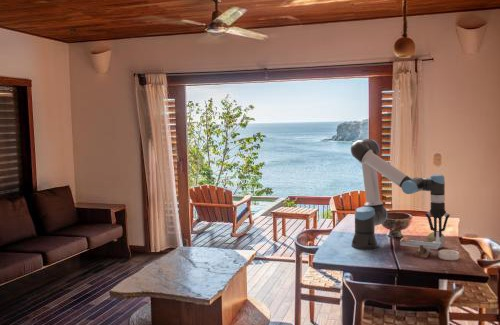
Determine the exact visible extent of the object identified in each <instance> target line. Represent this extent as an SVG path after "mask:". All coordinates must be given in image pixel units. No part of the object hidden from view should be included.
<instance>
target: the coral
mask: <svg viewBox="0 0 500 325" xmlns="http://www.w3.org/2000/svg"><path fill="white" fill-rule="evenodd" d="M425 241H426V242H431V243H433V241H435V242H436V237H434V231H432V232H430V233H429V234H427V235H426V240H425ZM440 242H441V244H440V246H439V247H438V249H441V248H444V245H445V243H446V236H444V234H443V233H442V236H441V237H440Z"/></svg>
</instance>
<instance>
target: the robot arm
mask: <svg viewBox="0 0 500 325" xmlns="http://www.w3.org/2000/svg"><path fill="white" fill-rule="evenodd" d="M380 151H381V150H380V145H379V143H378V142H377V141H376V140H374V139H371V138H366V139H357V140H356V141H354V142H353V143H352V144H351V147H350V153H351V155H352V156H353V158H354V159H356V160H357V161H358V162H359V163H360V164H361V167H362V168H361V169H362V177H363V185H364V186H363V187H364V192H365V202H364V204H363V205H364V206H360V207H357V208H356V209H355V211H354V235H353V237H352V240H351V246H352V248H356V249H359V250H375V249H377V248H378V240H377V237H376V234H375V227H377V226H379V225H382V224H383V223H385V222H386V220H387V219H388V211H387V209H386V207H385V206H384V203H383V201H382V200H381V195H380V187H379V179H378V178H379V177H378V173H379V174H380V175H382V176H383V177H385V178H386V179H388V180H389V181H391V182H393V184H395V185H396V186H398V187H399V188H401V190H402V192H403V193H404V194H405V195H406V194H407V195H413V194H415V193H418V192H423V191H425V192H430V194H429V195H430V210H429V212H426V214H425V216H426V217H427V221H428V224H429V229H430V230H431V231H432V232H434V237H436V243H439V242H440V237H441V236H442V234H443V232H445V231H446V226H447V223H448V220H449V217H450V216H451V214H449V213H447V210H446V203H445V200H446V197H445V196H446V194H445V193H446V192H445V191H446V190H445V188H446V183H445V176H444V175H443V174H431V175H430V177H418V176H417V177H416V176H415V177H410V176H408V175H407V174H405V173H404V172H403V171H401V170H400V169H398V168H396V167H395V166H393V165H392V164H391V163H389V162H387V161H386V160H385V159H383V158H381V157H380V156H378V155H379V154H380ZM444 216H445V218H444V222H443V224H442V221H443V217H444ZM432 218H433V221H432ZM437 221H438V222H437ZM437 224H438V225H437ZM442 225H443V226H442Z"/></svg>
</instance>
